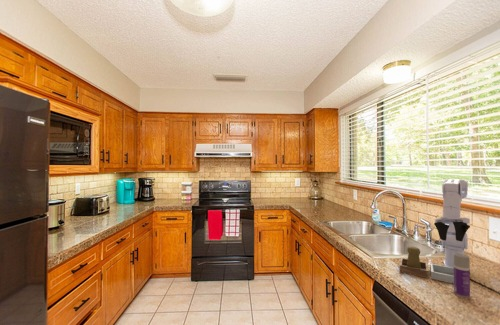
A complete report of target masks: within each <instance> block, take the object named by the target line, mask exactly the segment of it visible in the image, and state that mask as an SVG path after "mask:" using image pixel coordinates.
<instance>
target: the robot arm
mask: <svg viewBox="0 0 500 325" xmlns="http://www.w3.org/2000/svg"><path fill="white" fill-rule="evenodd" d="M468 187H469V185H468V180H467V179H459V178H458V179H457V178H456V179H455V178H447V179H446V178H444V179H443V180H442V186H441V190H442V191H441V192H442V198H443V199H442V200H443V203H442V216H440V217H438V218H435V219H434V227H435V228H436V230H437V233H438V237H439V240H440V241H441V242H440V243H441V245H442V246H443V247H444V259H442V262H443V264H444V265H443V266H447V267H452V268H454V254H456V253H458V254H464V255H465V251H467V250H468V249H469V248H468V246H469V243H468V240H469V239H468V234H467V231H469V229H470V228H471V225H469V224H470V221H471V220H470V218H467V217H461V204H462V201H463V200H464V199H466V198H467V196H468V190H469V189H468Z"/></svg>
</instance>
